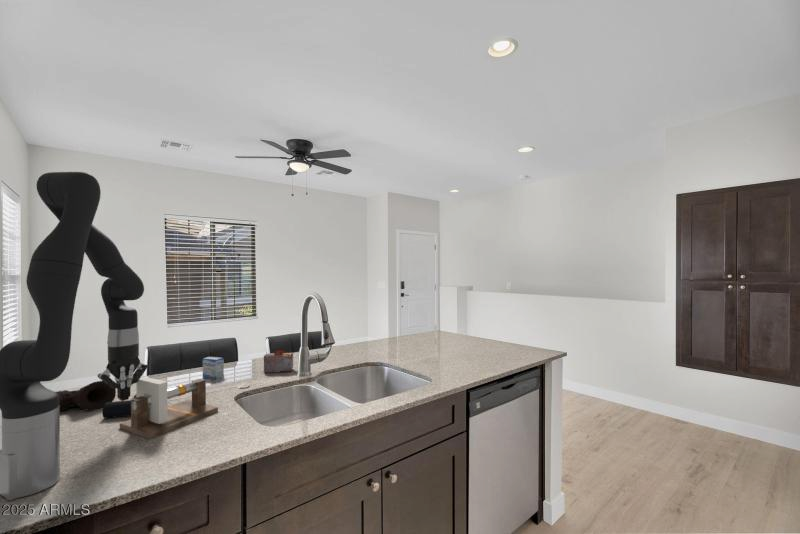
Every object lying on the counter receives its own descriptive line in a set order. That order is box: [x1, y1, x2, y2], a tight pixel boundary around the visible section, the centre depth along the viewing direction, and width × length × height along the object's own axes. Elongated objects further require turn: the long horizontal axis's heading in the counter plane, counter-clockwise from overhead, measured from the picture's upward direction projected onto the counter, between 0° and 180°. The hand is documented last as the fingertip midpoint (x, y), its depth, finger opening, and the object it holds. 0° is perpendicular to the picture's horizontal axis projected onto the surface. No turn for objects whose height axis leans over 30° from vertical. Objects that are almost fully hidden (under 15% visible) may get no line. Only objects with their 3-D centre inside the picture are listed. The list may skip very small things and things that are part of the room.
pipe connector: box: [102, 394, 136, 419], centre depth 125 cm, size 12×5×15 cm
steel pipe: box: [131, 381, 197, 410], centre depth 118 cm, size 22×3×3 cm, turn 153°
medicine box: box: [202, 356, 225, 379], centre depth 163 cm, size 8×4×9 cm, turn 73°
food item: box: [263, 349, 294, 373], centre depth 172 cm, size 14×8×10 cm, turn 102°
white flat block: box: [135, 376, 168, 424], centre depth 112 cm, size 2×12×12 cm, turn 63°
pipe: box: [55, 380, 117, 412], centre depth 128 cm, size 10×15×15 cm
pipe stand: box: [119, 378, 219, 440], centre depth 118 cm, size 22×16×10 cm
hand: (124, 399), depth 109 cm, fingers closed
